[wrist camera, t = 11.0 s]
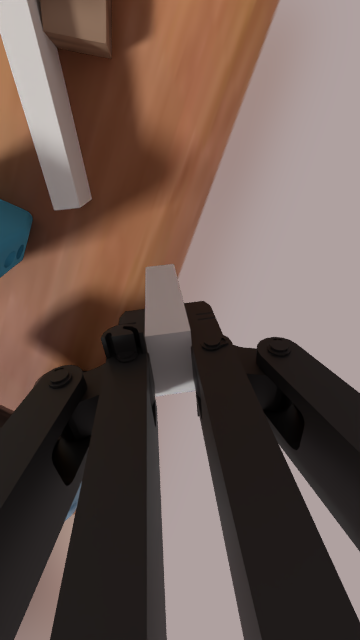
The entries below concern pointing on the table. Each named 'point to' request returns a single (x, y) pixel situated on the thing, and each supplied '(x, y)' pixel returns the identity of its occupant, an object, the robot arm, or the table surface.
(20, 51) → the grey board
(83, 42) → the walnut block
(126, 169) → the table surface
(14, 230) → the block
